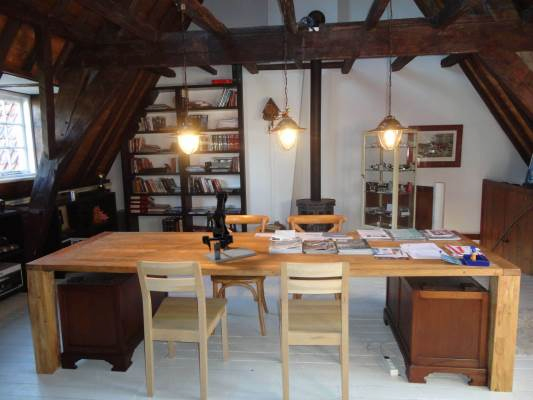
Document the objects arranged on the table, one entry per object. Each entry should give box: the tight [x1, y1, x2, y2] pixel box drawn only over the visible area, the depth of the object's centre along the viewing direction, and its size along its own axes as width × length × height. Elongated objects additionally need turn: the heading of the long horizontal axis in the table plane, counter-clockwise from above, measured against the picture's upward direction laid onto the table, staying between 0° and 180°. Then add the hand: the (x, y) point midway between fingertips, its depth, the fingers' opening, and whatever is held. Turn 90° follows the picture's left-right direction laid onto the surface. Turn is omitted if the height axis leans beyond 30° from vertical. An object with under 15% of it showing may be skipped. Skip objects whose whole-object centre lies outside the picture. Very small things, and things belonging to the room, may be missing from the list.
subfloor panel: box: [203, 246, 258, 264], centre depth 248 cm, size 16×29×2 cm, turn 123°
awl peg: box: [213, 241, 222, 260], centre depth 236 cm, size 4×4×10 cm
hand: (217, 251), depth 234 cm, fingers open, 8 cm apart
